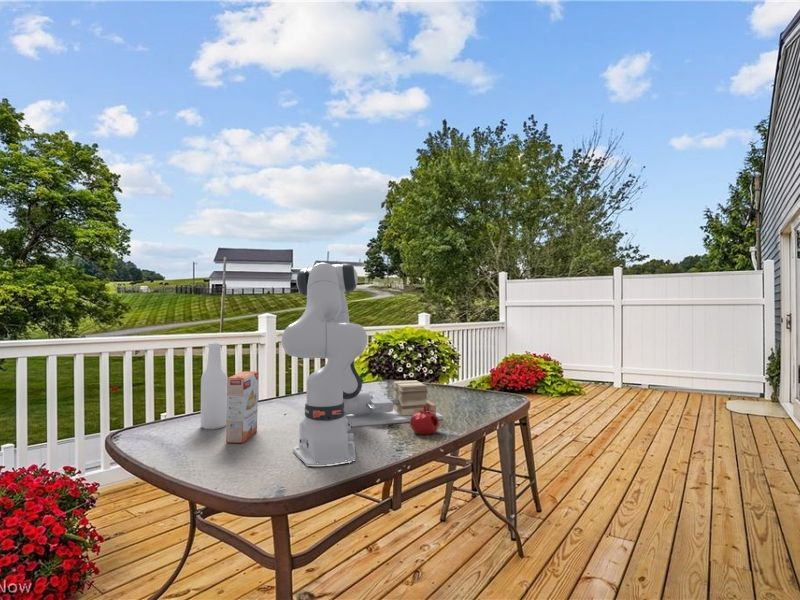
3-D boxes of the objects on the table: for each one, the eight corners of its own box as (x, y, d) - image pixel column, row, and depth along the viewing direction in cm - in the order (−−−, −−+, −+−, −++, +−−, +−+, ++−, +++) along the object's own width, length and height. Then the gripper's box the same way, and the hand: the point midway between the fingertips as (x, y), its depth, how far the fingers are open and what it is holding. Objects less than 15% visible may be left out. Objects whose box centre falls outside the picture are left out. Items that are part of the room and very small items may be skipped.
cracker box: (244, 443, 145) (244, 377, 144) (225, 443, 145) (225, 377, 145) (258, 431, 159) (259, 370, 158) (241, 430, 159) (241, 370, 159)
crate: (427, 413, 178) (427, 385, 178) (402, 415, 175) (402, 387, 175) (416, 406, 190) (416, 380, 190) (392, 408, 187) (392, 381, 187)
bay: (442, 419, 176) (442, 405, 176) (351, 426, 165) (351, 412, 165) (424, 407, 195) (424, 395, 195) (340, 413, 184) (340, 400, 184)
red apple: (410, 436, 154) (410, 408, 154) (410, 428, 164) (410, 402, 164) (439, 437, 154) (439, 409, 154) (437, 428, 164) (438, 402, 164)
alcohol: (204, 423, 167) (204, 341, 167) (229, 422, 169) (229, 341, 169) (197, 430, 159) (198, 344, 158) (224, 429, 160) (225, 343, 160)
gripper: (370, 400, 167) (406, 398, 171) (357, 389, 186) (390, 387, 191) (370, 417, 167) (405, 414, 171) (357, 404, 186) (389, 402, 191)
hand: (397, 400), depth 181 cm, fingers closed
